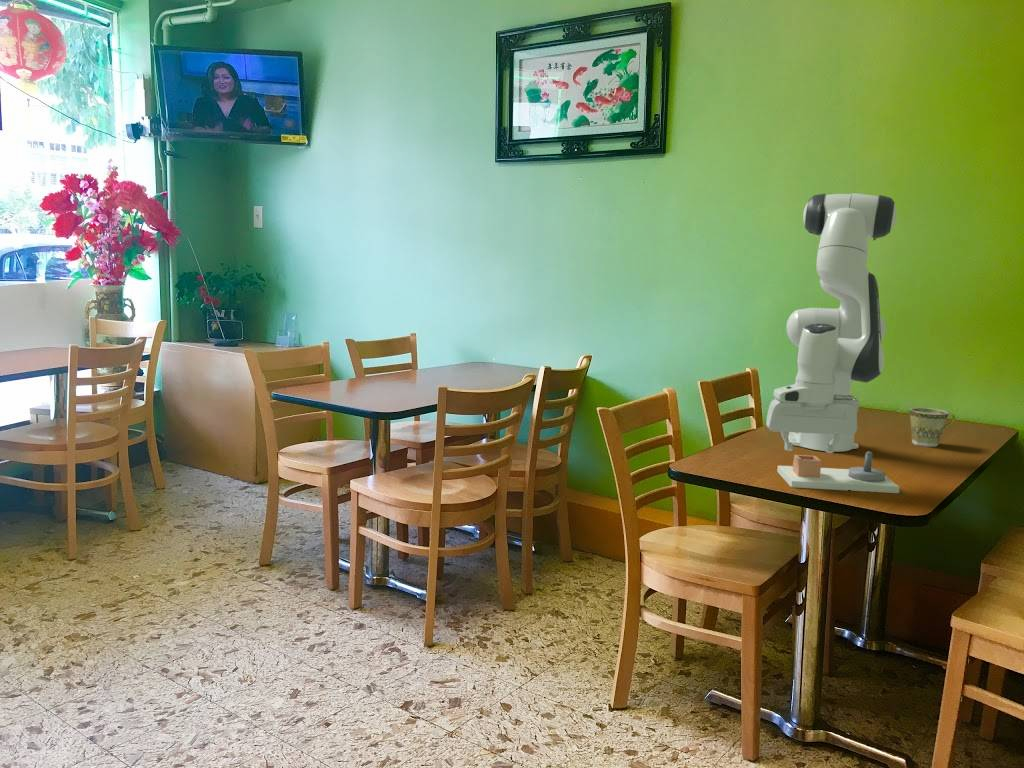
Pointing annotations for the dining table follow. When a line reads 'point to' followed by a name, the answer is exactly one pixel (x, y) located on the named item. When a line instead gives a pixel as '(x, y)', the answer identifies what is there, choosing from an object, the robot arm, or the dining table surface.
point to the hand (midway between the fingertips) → (808, 451)
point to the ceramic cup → (928, 425)
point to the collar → (806, 466)
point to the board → (843, 478)
